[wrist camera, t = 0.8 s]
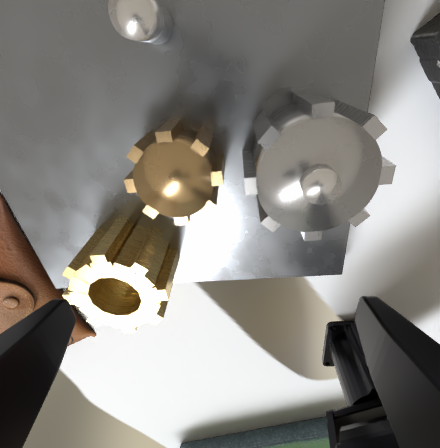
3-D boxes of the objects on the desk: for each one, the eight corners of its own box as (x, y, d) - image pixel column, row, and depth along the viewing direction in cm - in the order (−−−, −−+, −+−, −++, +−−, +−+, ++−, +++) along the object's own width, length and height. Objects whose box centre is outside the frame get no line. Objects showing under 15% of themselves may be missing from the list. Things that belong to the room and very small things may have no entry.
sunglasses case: (103, 338, 29) (42, 398, 25) (70, 317, 33) (12, 365, 29) (-5, 183, 20) (-130, 233, 16) (-32, 180, 24) (-137, 219, 20)
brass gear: (186, 286, 23) (176, 330, 19) (107, 290, 24) (83, 333, 20) (169, 214, 19) (154, 251, 16) (77, 221, 20) (41, 258, 16)
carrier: (337, 264, 23) (369, 330, 17) (63, 279, 25) (15, 341, 19) (385, -80, 12) (504, -189, 7) (-86, -2, 15) (-277, -38, 9)
